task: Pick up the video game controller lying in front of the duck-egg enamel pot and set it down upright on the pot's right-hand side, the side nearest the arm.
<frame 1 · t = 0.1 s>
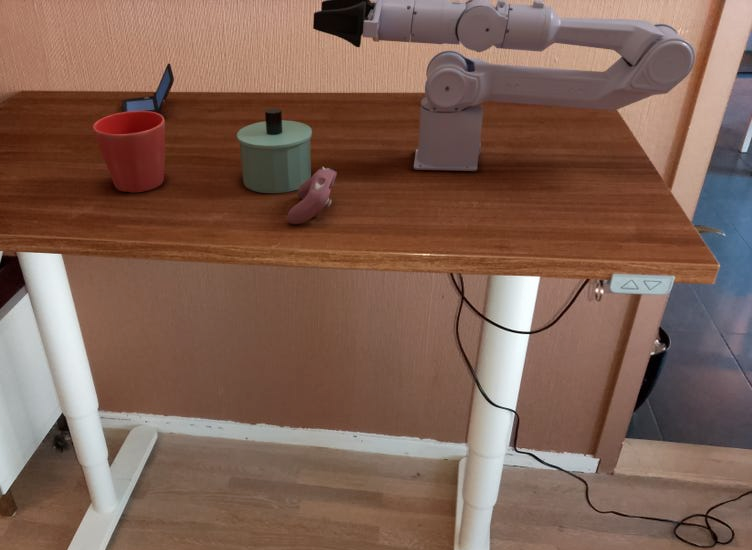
hand: (317, 14, 104), 22 cm above the table, tool horizontal, fingers open, 7 cm apart
pot lid: (274, 135, 107), point 7 cm above the table, touching pot
flower pot: (139, 184, 113), on the table
pot: (276, 179, 111), on the table
handheld console: (150, 112, 144), on the table
video game controller: (313, 213, 101), on the table
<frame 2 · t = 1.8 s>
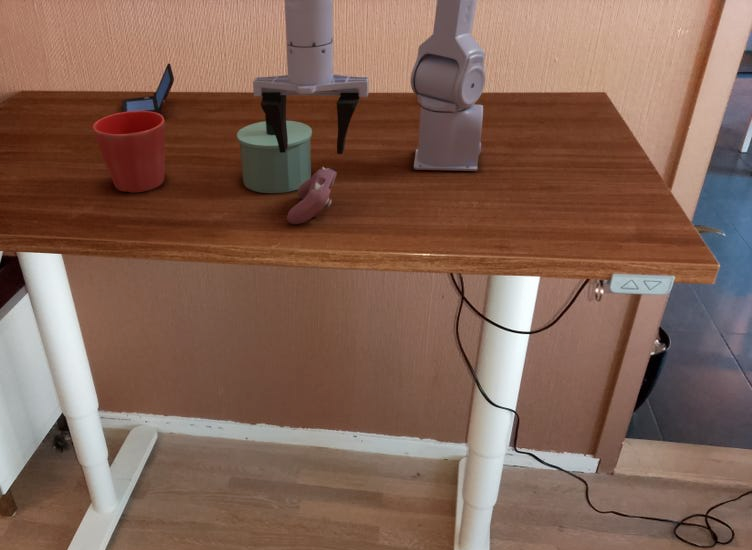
hand: (312, 150, 96), 9 cm above the table, tool pointing down, fingers open, 7 cm apart
nothing on the table moved.
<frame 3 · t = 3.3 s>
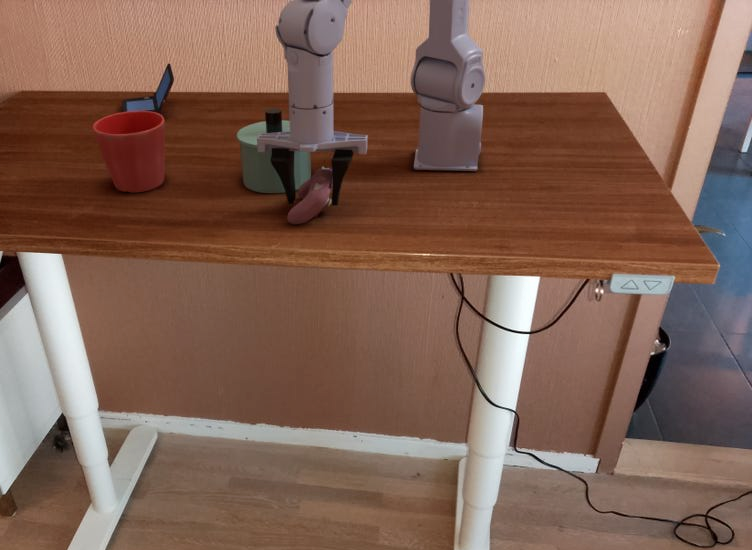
hand: (313, 201, 100), 1 cm above the table, tool pointing down, fingers closed on video game controller, 5 cm apart
video game controller: (314, 212, 101), on the table, touching gripper
everything else where it was.
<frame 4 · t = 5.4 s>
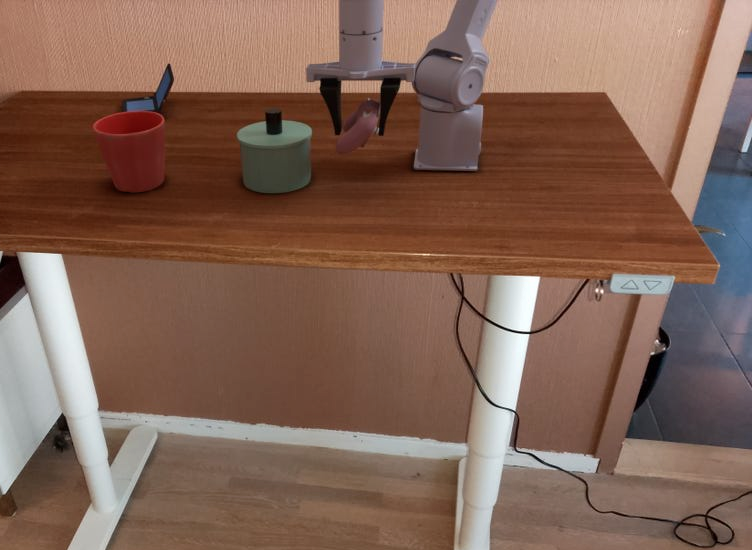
hand: (359, 133, 102), 8 cm above the table, tool pointing down, fingers closed on video game controller, 5 cm apart
video game controller: (359, 144, 103), point 7 cm above the table, touching gripper
everything else where it was.
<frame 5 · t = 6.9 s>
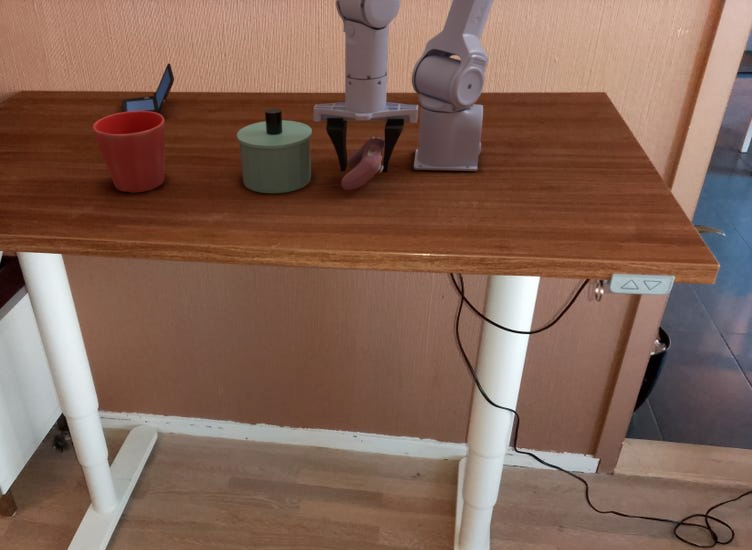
hand: (364, 169, 106), 2 cm above the table, tool pointing down, fingers closed on video game controller, 5 cm apart
video game controller: (364, 180, 107), point 1 cm above the table, touching gripper
everything else where it was.
when the fingers open (1 cm above the table, at t = 7.8 s): video game controller stays where it is, on the table.
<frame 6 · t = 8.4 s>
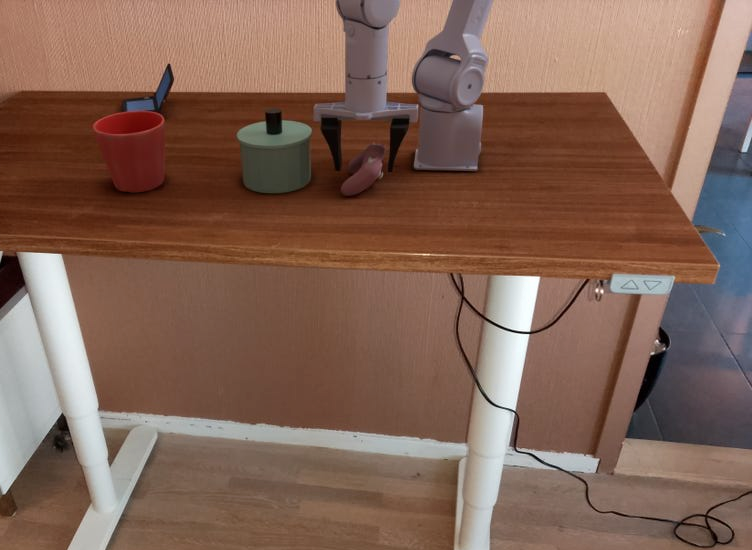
hand: (364, 169, 106), 2 cm above the table, tool pointing down, fingers open, 7 cm apart
video game controller: (364, 186, 108), on the table
everything else where it was.
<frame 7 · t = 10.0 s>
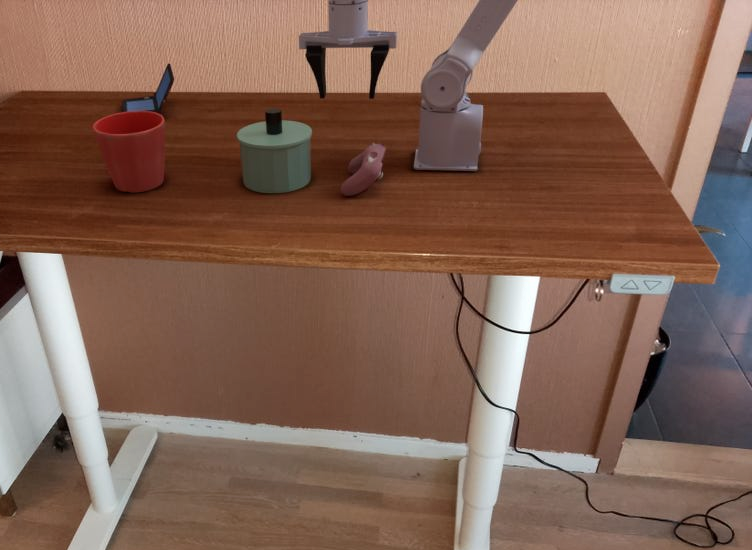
hand: (347, 96, 112), 9 cm above the table, tool pointing down, fingers open, 7 cm apart
nothing on the table moved.
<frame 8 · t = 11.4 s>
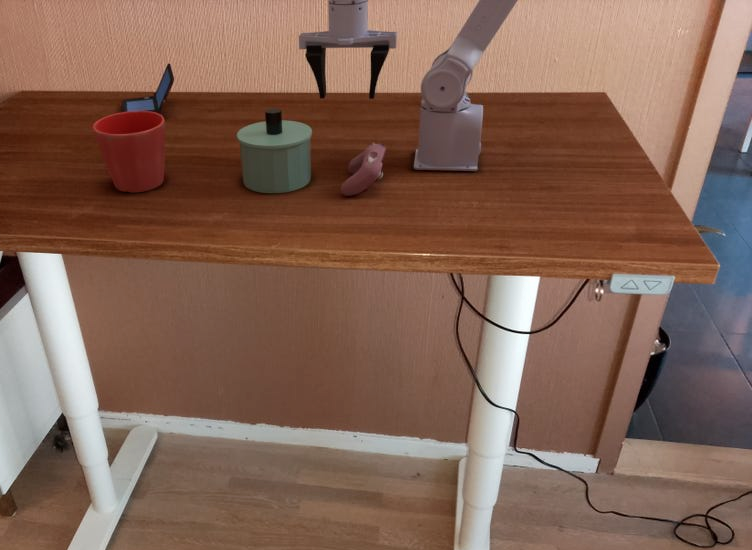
hand: (347, 96, 112), 9 cm above the table, tool pointing down, fingers open, 7 cm apart
nothing on the table moved.
at the end: video game controller inside the target area on the table beside the pot (0.0 cm from its centre), on the table; video game controller tilted 0°; the gripper is holding nothing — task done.
